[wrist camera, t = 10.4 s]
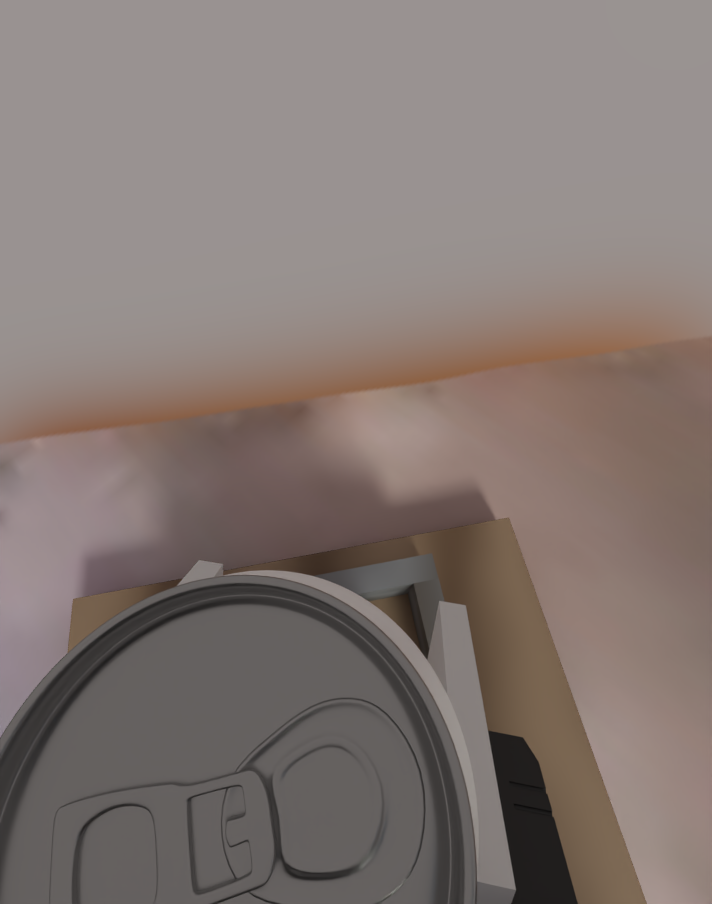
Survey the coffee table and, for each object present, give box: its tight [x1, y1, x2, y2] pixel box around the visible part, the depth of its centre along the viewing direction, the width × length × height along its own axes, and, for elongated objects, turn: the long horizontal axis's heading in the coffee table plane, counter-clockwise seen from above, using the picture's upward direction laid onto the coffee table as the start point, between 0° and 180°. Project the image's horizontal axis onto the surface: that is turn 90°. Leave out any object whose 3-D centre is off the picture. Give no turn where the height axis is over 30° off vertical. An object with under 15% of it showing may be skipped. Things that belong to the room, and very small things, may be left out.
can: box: [0, 570, 479, 904], centre depth 10 cm, size 6×6×12 cm
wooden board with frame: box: [68, 518, 647, 904], centre depth 17 cm, size 20×14×4 cm
